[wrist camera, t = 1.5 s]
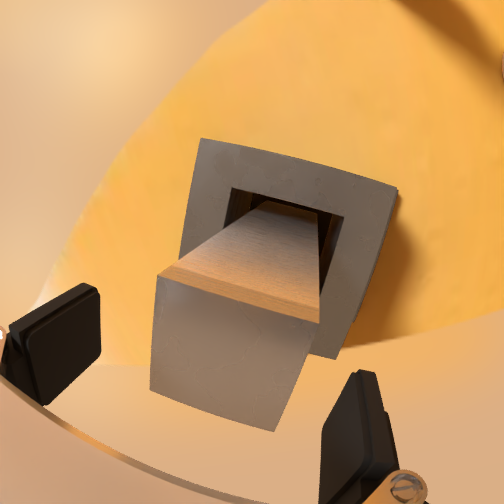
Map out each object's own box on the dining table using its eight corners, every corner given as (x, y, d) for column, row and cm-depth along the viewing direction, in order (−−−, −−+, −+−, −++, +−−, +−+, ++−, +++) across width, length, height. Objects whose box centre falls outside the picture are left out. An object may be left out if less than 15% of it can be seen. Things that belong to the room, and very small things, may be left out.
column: (316, 213, 29) (319, 323, 8) (301, 268, 31) (268, 443, 10) (267, 200, 30) (157, 275, 9) (253, 255, 32) (149, 402, 11)
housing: (395, 189, 27) (431, 199, 18) (352, 317, 31) (363, 373, 22) (210, 141, 29) (165, 132, 20) (186, 269, 34) (141, 307, 24)
